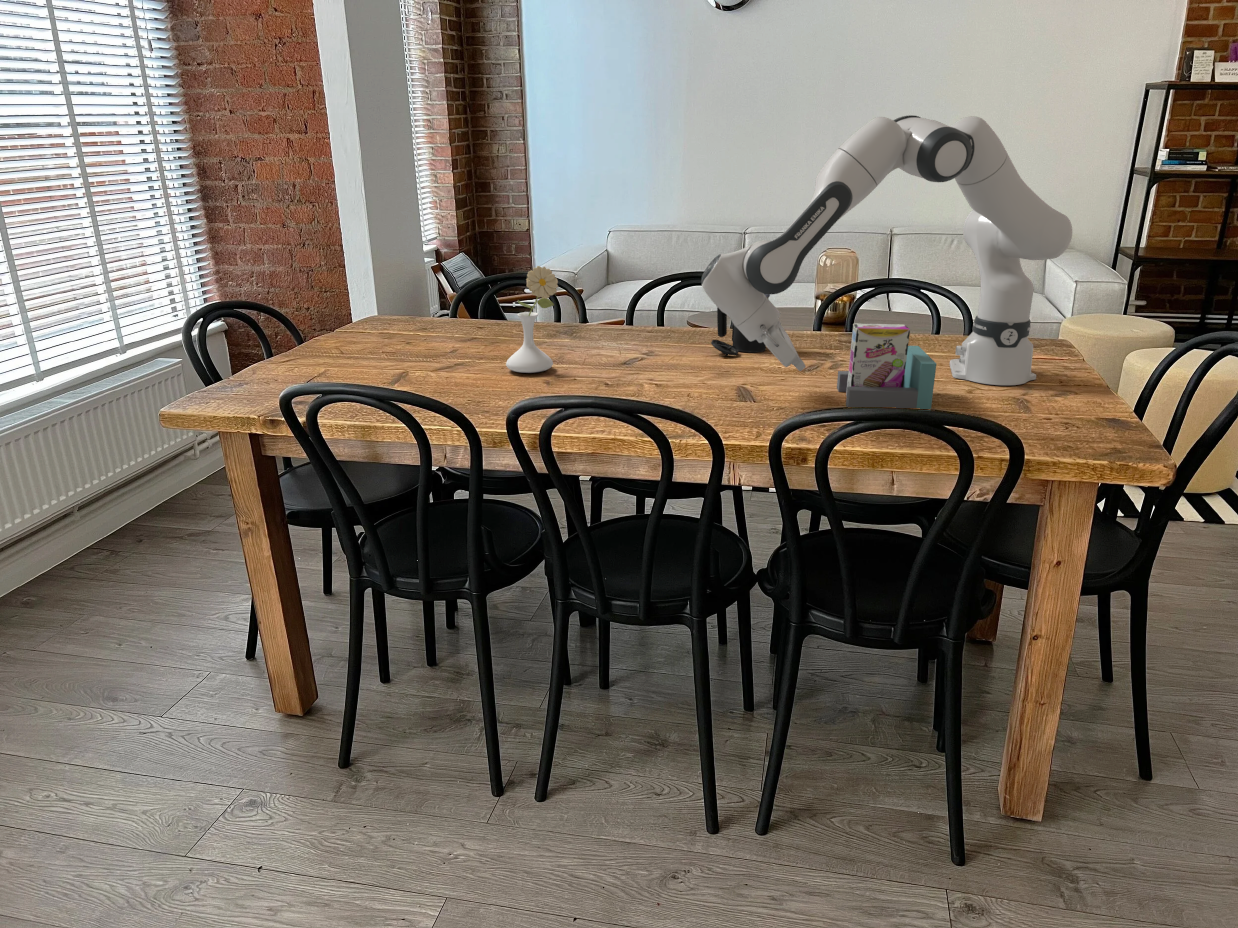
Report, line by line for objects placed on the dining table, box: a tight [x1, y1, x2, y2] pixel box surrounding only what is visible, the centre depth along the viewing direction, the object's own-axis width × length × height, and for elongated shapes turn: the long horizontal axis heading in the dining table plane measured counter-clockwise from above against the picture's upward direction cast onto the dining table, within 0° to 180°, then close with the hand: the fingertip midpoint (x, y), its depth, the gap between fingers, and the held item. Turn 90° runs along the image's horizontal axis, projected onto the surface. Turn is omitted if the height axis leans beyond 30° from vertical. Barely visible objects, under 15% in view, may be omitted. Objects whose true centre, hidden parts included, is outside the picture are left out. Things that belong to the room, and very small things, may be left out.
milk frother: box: [710, 294, 771, 357], centre depth 238 cm, size 14×16×15 cm
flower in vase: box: [505, 265, 559, 374], centre depth 218 cm, size 13×11×25 cm
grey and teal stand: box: [836, 345, 937, 410], centre depth 197 cm, size 16×17×10 cm
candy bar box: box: [845, 323, 911, 397], centre depth 195 cm, size 11×5×16 cm, turn 87°
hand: (802, 367), depth 197 cm, fingers closed
